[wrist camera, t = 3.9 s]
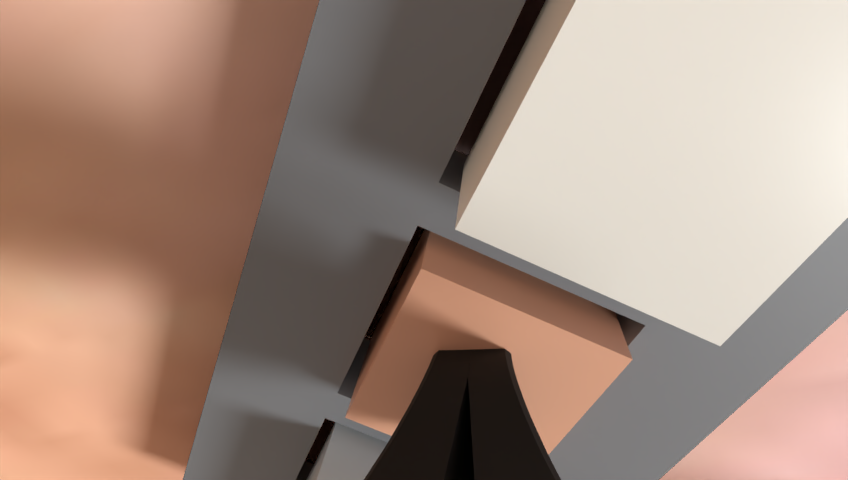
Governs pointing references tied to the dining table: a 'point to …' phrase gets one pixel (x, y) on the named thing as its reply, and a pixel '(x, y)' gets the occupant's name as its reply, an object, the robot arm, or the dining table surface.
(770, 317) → the key board
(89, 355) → the dining table surface
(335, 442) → the grey key
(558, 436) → the terracotta key
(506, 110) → the cream key
